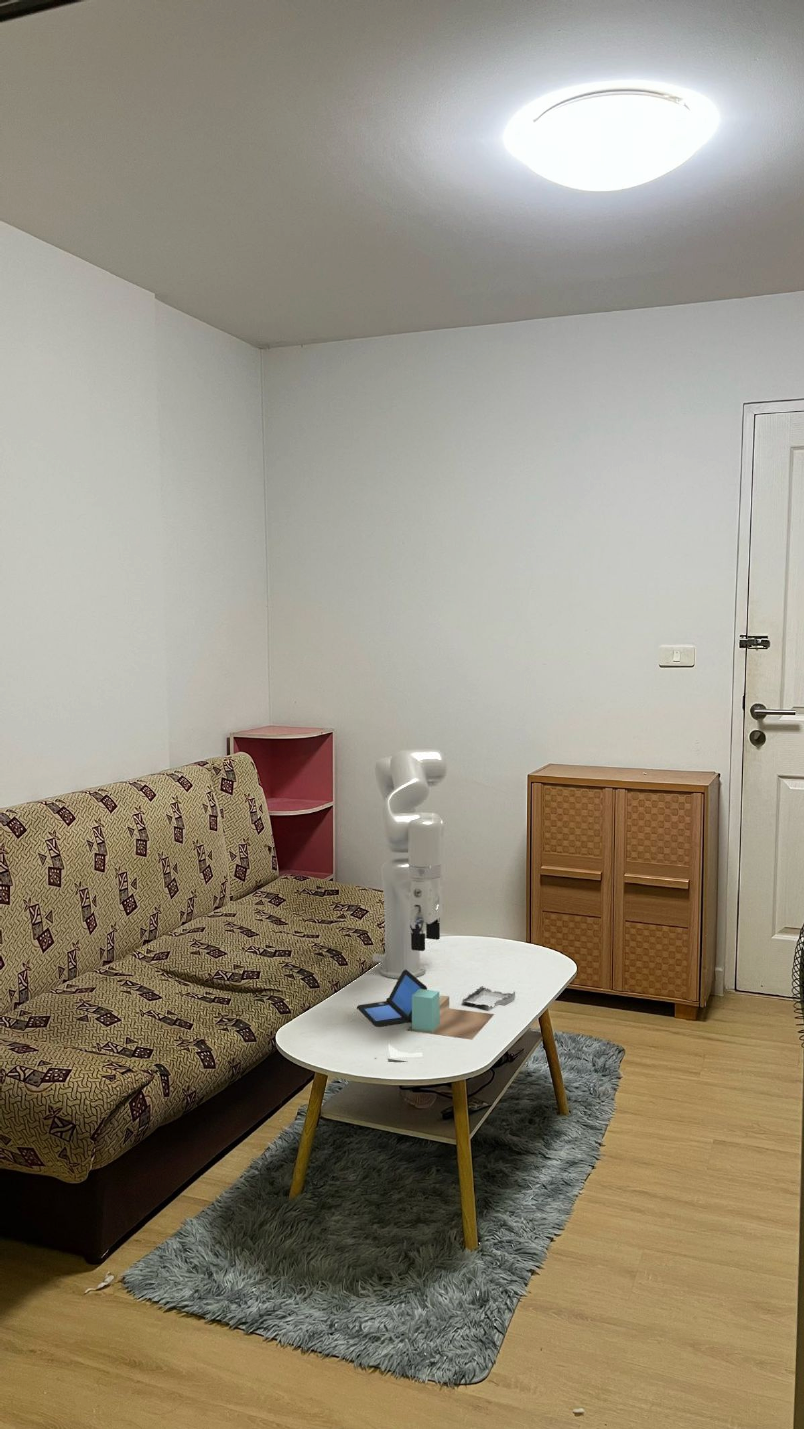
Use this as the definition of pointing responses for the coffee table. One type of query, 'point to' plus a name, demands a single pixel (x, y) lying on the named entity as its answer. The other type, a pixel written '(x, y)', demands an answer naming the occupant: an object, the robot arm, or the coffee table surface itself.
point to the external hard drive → (400, 1054)
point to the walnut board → (458, 1021)
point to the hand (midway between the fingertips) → (425, 944)
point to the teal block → (425, 1010)
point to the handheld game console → (394, 1003)
